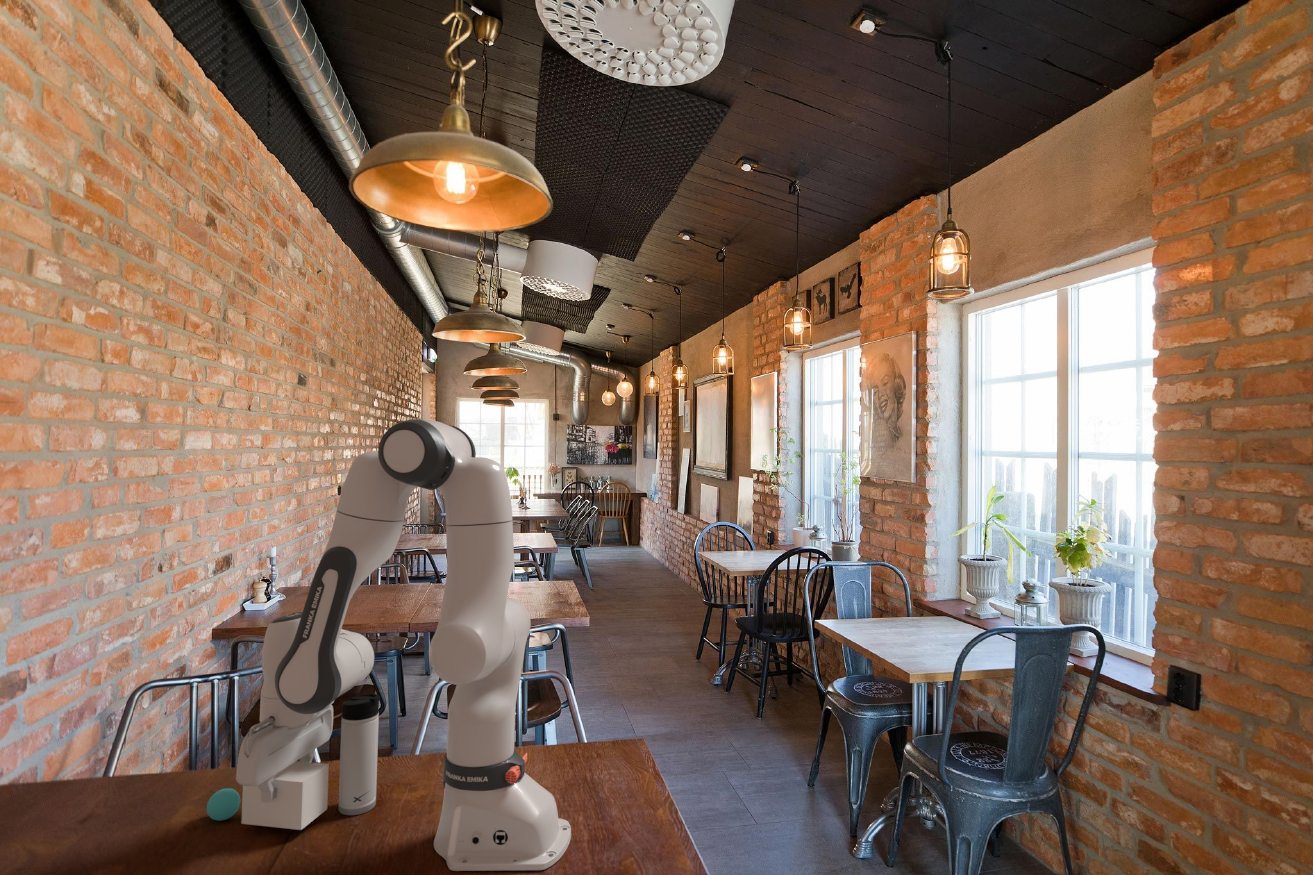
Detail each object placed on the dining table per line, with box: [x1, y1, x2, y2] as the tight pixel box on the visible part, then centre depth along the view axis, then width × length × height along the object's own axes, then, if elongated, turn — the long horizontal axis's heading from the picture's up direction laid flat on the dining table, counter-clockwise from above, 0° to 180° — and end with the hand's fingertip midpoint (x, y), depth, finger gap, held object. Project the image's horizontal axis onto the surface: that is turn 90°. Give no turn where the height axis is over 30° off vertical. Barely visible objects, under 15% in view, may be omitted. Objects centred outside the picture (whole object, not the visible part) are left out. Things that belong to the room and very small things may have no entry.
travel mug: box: [338, 693, 381, 816], centre depth 126 cm, size 6×7×20 cm
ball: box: [206, 787, 241, 822], centre depth 121 cm, size 5×5×5 cm
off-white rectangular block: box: [241, 760, 330, 831], centre depth 119 cm, size 11×7×8 cm, turn 82°
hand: (286, 788), depth 119 cm, fingers closed on off-white rectangular block, 7 cm apart
